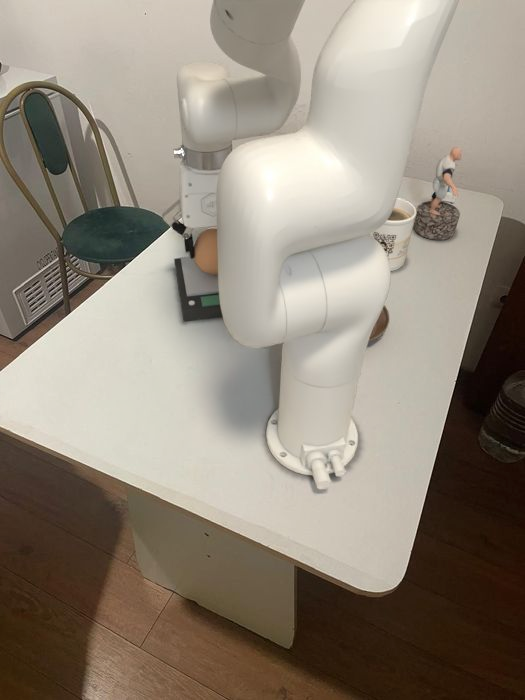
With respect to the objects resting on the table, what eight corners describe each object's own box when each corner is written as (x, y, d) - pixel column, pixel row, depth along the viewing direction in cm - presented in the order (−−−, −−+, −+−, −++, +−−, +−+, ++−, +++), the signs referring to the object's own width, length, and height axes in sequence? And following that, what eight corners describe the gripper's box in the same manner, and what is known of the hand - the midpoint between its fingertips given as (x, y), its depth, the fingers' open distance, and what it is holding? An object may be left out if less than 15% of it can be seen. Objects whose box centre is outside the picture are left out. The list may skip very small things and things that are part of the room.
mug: (381, 279, 99) (392, 228, 91) (335, 253, 105) (341, 203, 97) (414, 259, 104) (427, 209, 96) (368, 235, 110) (377, 186, 102)
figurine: (454, 250, 106) (481, 165, 94) (412, 244, 108) (433, 160, 95) (453, 216, 117) (477, 136, 104) (414, 210, 118) (433, 131, 106)
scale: (262, 312, 91) (263, 298, 89) (183, 322, 89) (181, 308, 87) (246, 261, 102) (245, 248, 100) (175, 269, 100) (173, 255, 98)
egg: (208, 288, 91) (205, 246, 85) (187, 268, 95) (183, 227, 89) (243, 274, 94) (242, 232, 88) (220, 255, 98) (218, 215, 92)
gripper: (152, 169, 75) (166, 269, 88) (268, 160, 78) (266, 258, 90) (149, 148, 81) (163, 245, 93) (258, 140, 83) (257, 236, 96)
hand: (213, 251), depth 91 cm, fingers closed on egg, 7 cm apart
